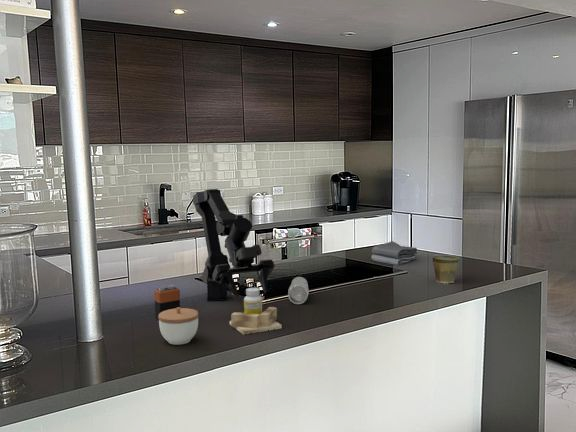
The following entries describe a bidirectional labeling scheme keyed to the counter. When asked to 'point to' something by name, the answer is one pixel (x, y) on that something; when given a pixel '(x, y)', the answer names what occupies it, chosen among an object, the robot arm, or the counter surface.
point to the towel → (393, 253)
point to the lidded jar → (178, 325)
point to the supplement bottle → (253, 301)
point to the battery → (166, 299)
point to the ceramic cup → (445, 268)
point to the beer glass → (298, 290)
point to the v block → (255, 321)
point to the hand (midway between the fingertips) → (251, 294)
